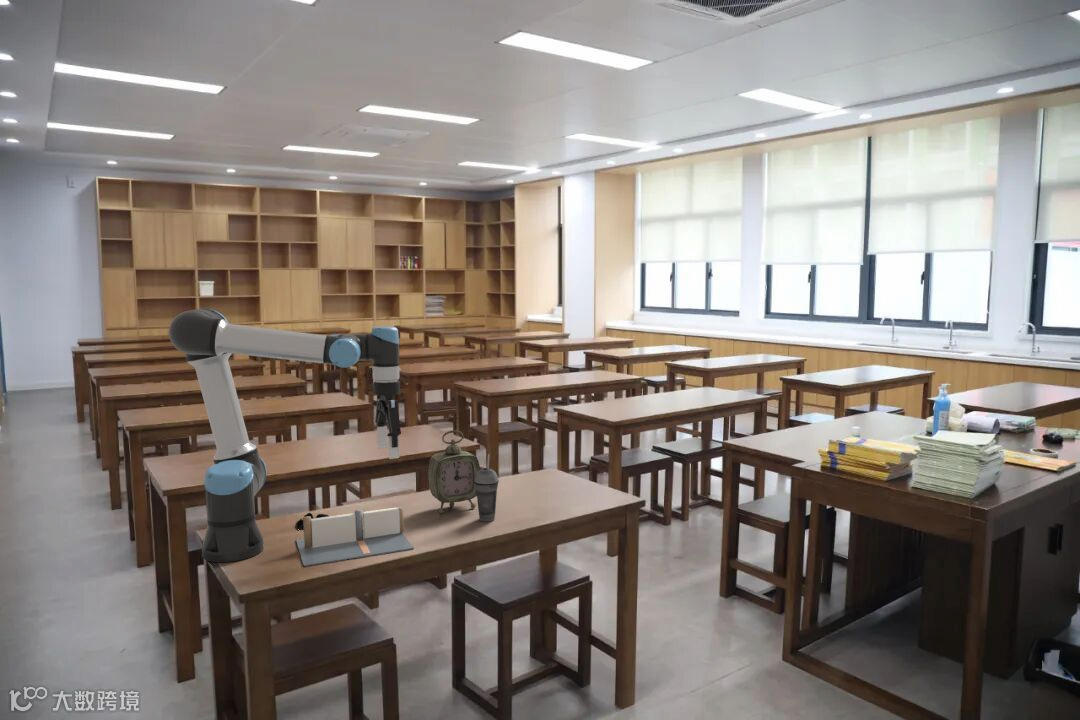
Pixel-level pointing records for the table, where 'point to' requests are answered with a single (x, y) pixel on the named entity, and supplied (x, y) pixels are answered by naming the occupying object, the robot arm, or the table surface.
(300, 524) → the black jagged rounded shell
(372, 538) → the card
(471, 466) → the tabletop clock
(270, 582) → the table surface
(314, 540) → the fixed fence section
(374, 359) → the robot arm
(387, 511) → the cream upright panel
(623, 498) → the table surface
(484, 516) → the beverage cup
